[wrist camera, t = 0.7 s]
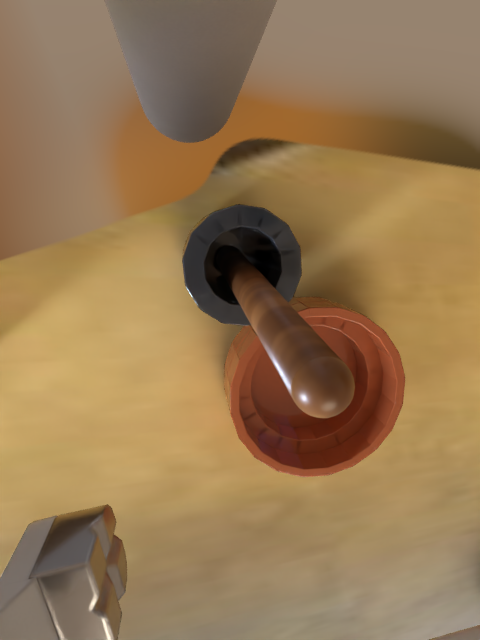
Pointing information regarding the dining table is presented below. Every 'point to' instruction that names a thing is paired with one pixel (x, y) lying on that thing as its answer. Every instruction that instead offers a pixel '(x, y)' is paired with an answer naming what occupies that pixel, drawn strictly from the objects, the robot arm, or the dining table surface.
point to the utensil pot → (255, 244)
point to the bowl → (295, 425)
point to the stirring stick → (289, 340)
